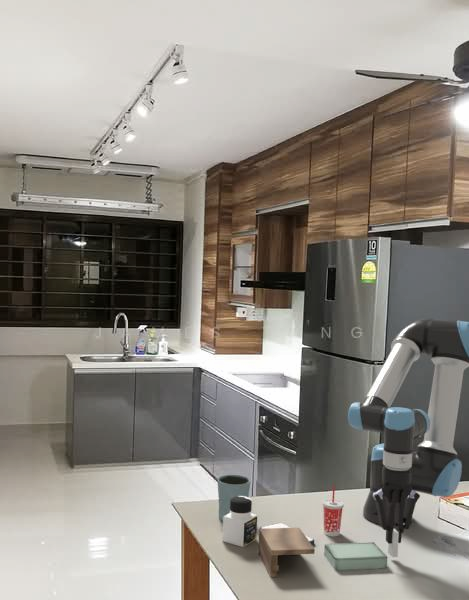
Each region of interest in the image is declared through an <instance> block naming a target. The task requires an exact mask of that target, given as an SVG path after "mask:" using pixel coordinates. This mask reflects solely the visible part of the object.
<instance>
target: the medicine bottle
mask: <svg viewBox="0 0 469 600" xmlns="http://www.w3.org/2000/svg"><path fill="white" fill-rule="evenodd" d="M252 506H253V501H252V499H251V498H250V497H245V496H236V497H233V498H231V500H230V513H229V514H227V515H225V516H224V517H223V521H222V539H221V540H222V542H224V543H227V544H231V545H234V546H237V547H241V548H245V547H247V546H248V545H249V544H251V543H253V542H255V541H256V540H257V535H258V533H257V532H258V530H257V529H258V515H257V514H255V513H252V510H253V509H252Z"/></svg>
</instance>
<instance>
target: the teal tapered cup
mask: <svg viewBox="0 0 469 600" xmlns="http://www.w3.org/2000/svg"><path fill="white" fill-rule="evenodd" d="M250 488H251V479H250V478H249V477H247V476H244V475H239V474H226V475H221V476H219V477H217V493H218V495H217V496H218V519H219V520H220V521H221V522H223V517H224V516H225V515H227V514H229V513H230V500H231V498H233V497H236V496H245V497H248V498H250V497H249V495H250Z"/></svg>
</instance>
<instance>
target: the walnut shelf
mask: <svg viewBox="0 0 469 600" xmlns="http://www.w3.org/2000/svg"><path fill="white" fill-rule="evenodd" d="M258 530H259V532H258V533H259V534H258V556H259V557H260V560H261V561H262V564H263V565H264V567H265V570H266V571H267V574H268V575H269V577H270V578H277V577H278V572H279V569H280V565H279V564H278V557H279V556H295V555H298V556H299V555H313V554H314V555H315V547H314V545H311V543H310V542H309V540H308V539H307V538H306V536H307V535H306V534H304V532H303V531H302V529H301V528H300V527H291V528H267V529H260V528H259V529H258ZM305 535H306V536H305Z"/></svg>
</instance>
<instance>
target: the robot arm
mask: <svg viewBox="0 0 469 600" xmlns="http://www.w3.org/2000/svg"><path fill="white" fill-rule="evenodd" d="M422 355H427V356H431V357H430V358H431V359H430V361H431V362H432V364H434V371H433V378H432V384H431V389H430V398H429V404H428V410H427V413H426V412H425V411H424V410H423V409H418V408H413V409H411V408H406V407H398V406H394V407H393V406H392V403H393V402H394V400H395V398H396V396H397V394H398V393H399V390H400V388H401V386H402V384H403V382H404V381H405V379H406V376H407V375H408V372H409V371H410V369H411V367H412V365H413V363H414V362H416V361H417V360H419V358H420V357H421V356H422ZM467 368H469V321H464V320H453V319H435V318H433V319H432V318H422V319H418V320H414V321H413V322H410V324H408V325H406V326H404V328H402V329H401V330H400V331H399V332H398V333H397V334H396V335H395V336H394V338H393V340H392V341H391V344H390V352H389V353H388V356H387V358H386V360H385V361H384V363H383V365H382V367H381V369H380V371H379V373H378V375H377V376H376V378H375V379H374V381H373V383H372V385H371V387H370V389H369V390H368V393H367V394H366V396H365V398H364V399H363V402H360V401H359V402H356V401H355V402H353V403H351V405H350V406H349V408H348V412H347V413H348V414H347V419H348V423H349V424H348V425H349V426H350V427H351V428H354V429H356V430H362V431H368V432H373V433H379V434H383V443H380V444H376V445H375V446H373V448H372V451H371V459H370V477H369V478H370V482H369V484H370V485H369V492H368V495H367V498H366V500H365V503H364V505H363V509H362V515H363V517H364V519H366V520H368V521H369V522H372V523H374V524H378V525H379V527H381V529H382V530H384V531H385V542H386V543H388V547H387V548H388V549H387V553H388V554H389V555H390V556H391V558H398V556H399V555H398V553H399V544H401V543H402V534H403V533H404V531H405V530H409V528H410V527H411V526H410V525H411V523H412V522H413V515H414V511H415V509H416V508H415V507H416V503H417V502H418V500H419V499H420V498H421V495H420V494H419V493H422V494H427V495H431V496H434V497H439V498H440V497H441V498H449V497H451V496H452V495H454V493H455V492H456V490H457V489H458V488H457V487H458V486H459V483H460V480H461V478H462V472H463V471H462V468H463V464H462V461H461V460H459V458H458V453H457V451H456V450H455V448H454V441H455V433H456V425H457V418H458V413H459V407H460V398H461V391H462V384H463V377H464V371H465V370H466V369H467ZM391 406H392V407H391ZM423 436H424V438H423V441H422V442H420V443H419V444H418V445H417V449H416V451H414V449H413V448H414V440H416V439H418V438H421V437H423Z"/></svg>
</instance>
